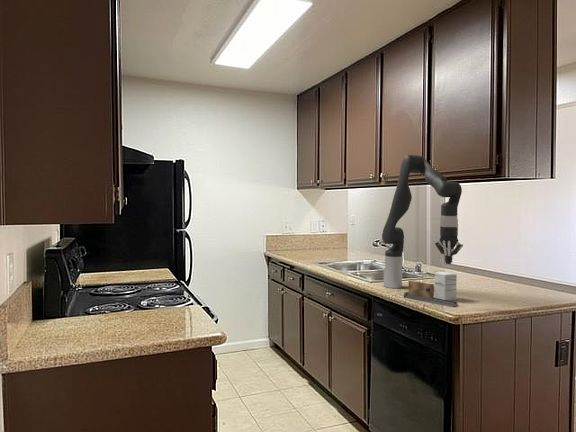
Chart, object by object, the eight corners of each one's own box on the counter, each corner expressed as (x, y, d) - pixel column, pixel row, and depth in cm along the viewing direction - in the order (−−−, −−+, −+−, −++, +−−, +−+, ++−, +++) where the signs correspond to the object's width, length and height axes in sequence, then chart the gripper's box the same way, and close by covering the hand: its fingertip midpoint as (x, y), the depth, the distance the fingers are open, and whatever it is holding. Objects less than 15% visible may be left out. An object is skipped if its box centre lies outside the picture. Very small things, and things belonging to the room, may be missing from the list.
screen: (407, 295, 210) (407, 281, 210) (409, 294, 211) (410, 280, 211) (431, 299, 200) (431, 284, 200) (433, 299, 201) (433, 284, 201)
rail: (403, 297, 211) (403, 292, 211) (408, 296, 214) (408, 291, 213) (453, 307, 191) (453, 301, 191) (457, 305, 193) (457, 300, 193)
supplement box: (434, 297, 210) (434, 272, 210) (446, 296, 213) (446, 271, 212) (444, 301, 203) (444, 274, 203) (456, 299, 206) (457, 273, 205)
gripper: (431, 225, 197) (430, 263, 197) (458, 226, 187) (457, 266, 187) (440, 225, 202) (439, 261, 202) (467, 226, 191) (466, 264, 192)
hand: (448, 263), depth 195 cm, fingers closed
